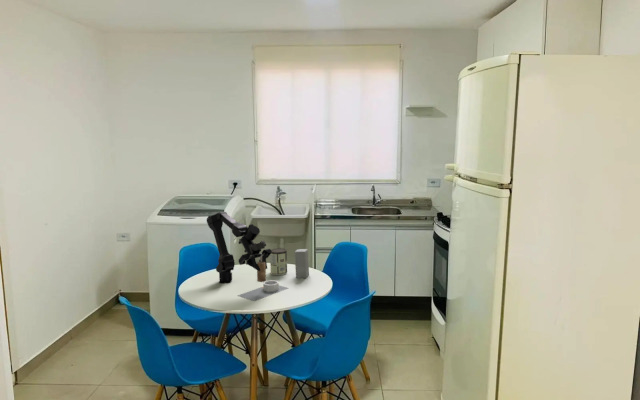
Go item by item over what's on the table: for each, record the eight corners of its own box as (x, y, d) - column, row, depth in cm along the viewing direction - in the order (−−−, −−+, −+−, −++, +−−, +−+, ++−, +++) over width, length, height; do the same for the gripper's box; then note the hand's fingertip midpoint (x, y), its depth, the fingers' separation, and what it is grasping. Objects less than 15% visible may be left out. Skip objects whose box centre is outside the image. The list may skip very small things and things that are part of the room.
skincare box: (306, 278, 255) (305, 252, 253) (294, 277, 256) (293, 251, 254) (309, 274, 263) (309, 248, 261) (298, 273, 265) (297, 248, 263)
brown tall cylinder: (257, 282, 226) (256, 257, 224) (257, 279, 230) (257, 255, 229) (265, 281, 226) (265, 257, 224) (266, 279, 231) (265, 255, 229)
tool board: (254, 303, 216) (253, 294, 216) (236, 297, 224) (236, 289, 224) (289, 289, 235) (289, 281, 235) (272, 285, 244) (271, 277, 243)
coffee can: (277, 269, 274) (276, 247, 272) (290, 272, 269) (290, 249, 267) (266, 273, 265) (266, 250, 264) (280, 276, 260) (279, 253, 258)
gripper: (241, 239, 221) (255, 264, 215) (269, 233, 235) (283, 257, 229) (232, 252, 227) (246, 277, 221) (260, 245, 241) (274, 269, 235)
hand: (263, 269), depth 227 cm, fingers closed on brown tall cylinder, 4 cm apart
